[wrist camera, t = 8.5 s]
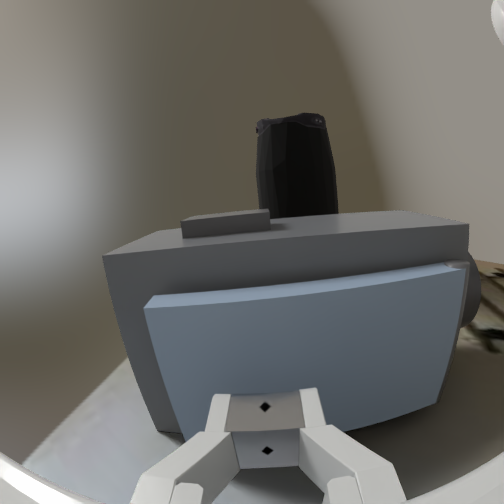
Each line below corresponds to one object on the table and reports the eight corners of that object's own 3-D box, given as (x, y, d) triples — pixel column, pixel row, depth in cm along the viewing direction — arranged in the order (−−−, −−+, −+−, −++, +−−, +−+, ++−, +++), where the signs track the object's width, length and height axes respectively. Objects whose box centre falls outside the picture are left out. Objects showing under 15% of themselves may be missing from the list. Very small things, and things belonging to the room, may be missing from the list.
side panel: (433, 387, 11) (458, 257, 10) (443, 400, 10) (475, 263, 9) (191, 429, 11) (153, 293, 10) (188, 447, 10) (142, 305, 9)
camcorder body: (423, 337, 19) (433, 197, 16) (470, 386, 12) (502, 205, 9) (184, 365, 19) (156, 218, 17) (157, 431, 13) (98, 236, 10)
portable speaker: (255, 301, 31) (237, 119, 27) (284, 275, 39) (270, 132, 35) (333, 306, 27) (318, 105, 23) (345, 277, 35) (334, 124, 31)
